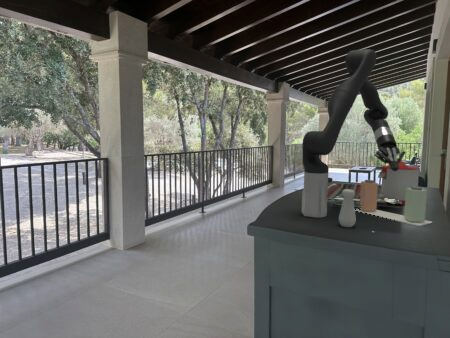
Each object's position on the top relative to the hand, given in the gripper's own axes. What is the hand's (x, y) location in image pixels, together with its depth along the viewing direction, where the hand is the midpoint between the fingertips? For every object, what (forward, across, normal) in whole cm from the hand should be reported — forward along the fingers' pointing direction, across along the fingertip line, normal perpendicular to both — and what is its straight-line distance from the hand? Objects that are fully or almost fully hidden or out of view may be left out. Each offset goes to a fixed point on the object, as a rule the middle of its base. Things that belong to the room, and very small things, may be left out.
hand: (395, 169), depth 142 cm
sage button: (+24, 0, 0) cm, 24 cm away
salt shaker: (+29, -27, -4) cm, 40 cm away
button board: (+19, -6, +6) cm, 21 cm away
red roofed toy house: (0, +9, +25) cm, 27 cm away
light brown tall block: (+13, -11, +12) cm, 21 cm away
